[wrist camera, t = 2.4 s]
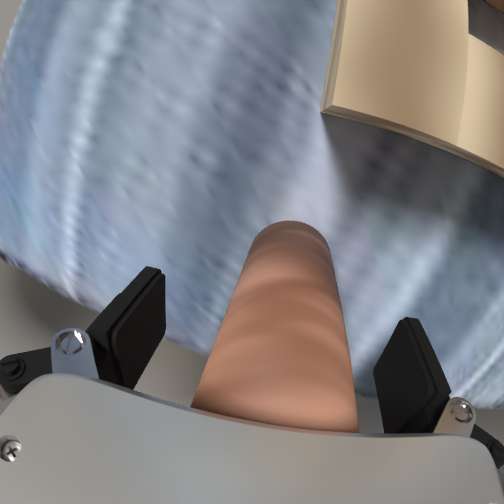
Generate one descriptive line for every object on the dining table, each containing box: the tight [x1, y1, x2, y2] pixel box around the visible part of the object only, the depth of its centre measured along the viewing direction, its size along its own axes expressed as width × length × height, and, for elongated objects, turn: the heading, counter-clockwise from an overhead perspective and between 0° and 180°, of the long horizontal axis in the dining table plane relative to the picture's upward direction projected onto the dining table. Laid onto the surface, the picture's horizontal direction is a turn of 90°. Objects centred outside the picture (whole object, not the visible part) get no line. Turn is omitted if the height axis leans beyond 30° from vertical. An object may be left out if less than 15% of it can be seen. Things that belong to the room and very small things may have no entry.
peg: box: [191, 221, 359, 433], centre depth 11 cm, size 4×4×12 cm
